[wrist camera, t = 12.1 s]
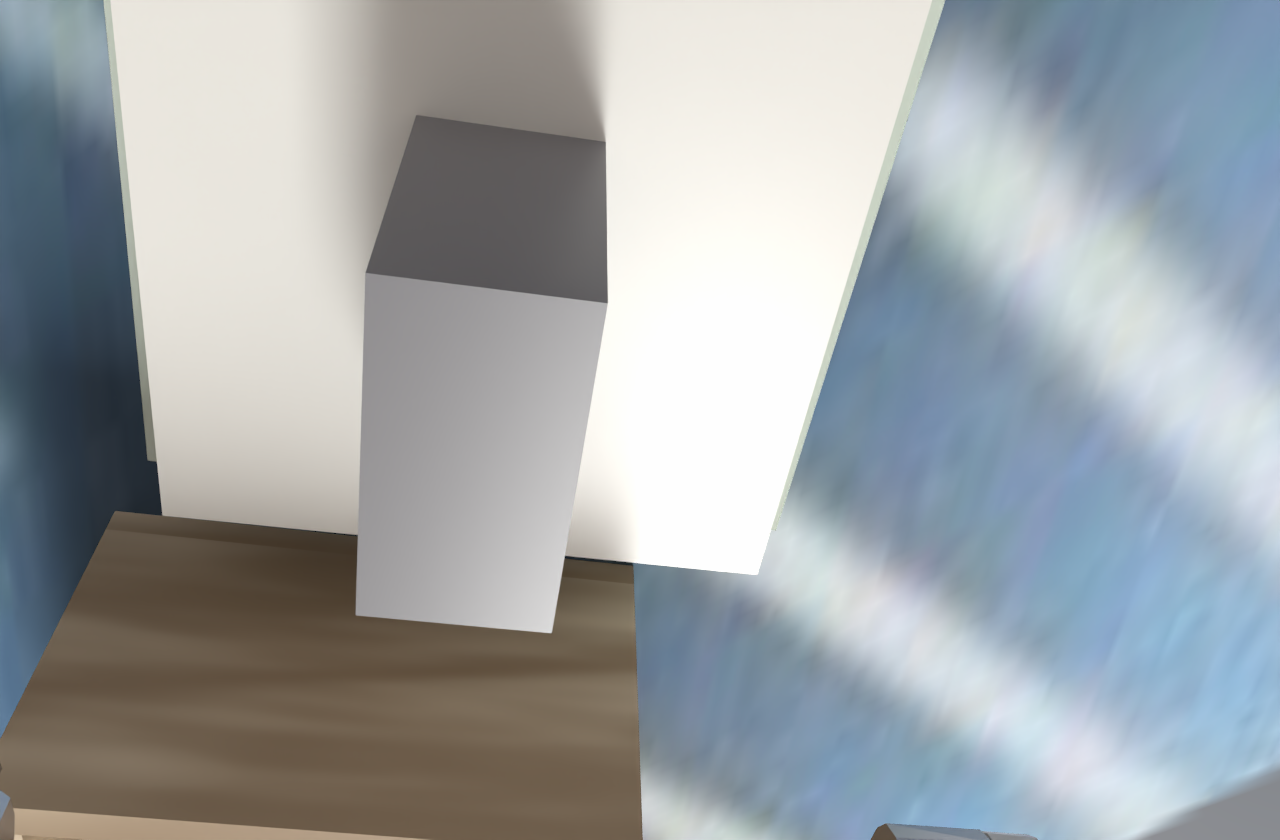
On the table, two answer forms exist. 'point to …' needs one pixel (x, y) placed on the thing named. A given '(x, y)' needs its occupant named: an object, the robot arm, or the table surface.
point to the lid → (497, 271)
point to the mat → (878, 193)
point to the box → (316, 703)
